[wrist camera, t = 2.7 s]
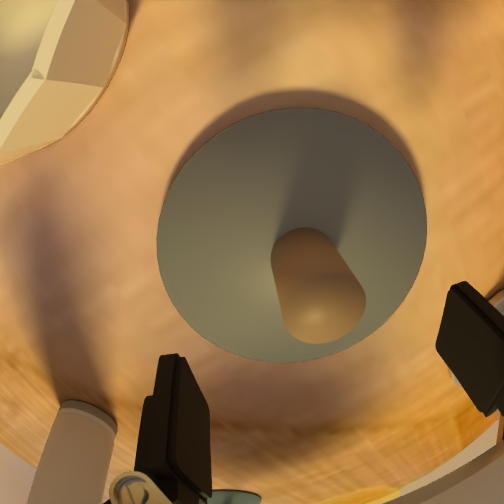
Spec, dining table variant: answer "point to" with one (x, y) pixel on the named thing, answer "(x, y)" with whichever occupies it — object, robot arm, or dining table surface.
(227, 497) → the cocktail glass
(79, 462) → the travel mug
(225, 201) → the lid
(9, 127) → the bowl
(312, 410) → the dining table surface
